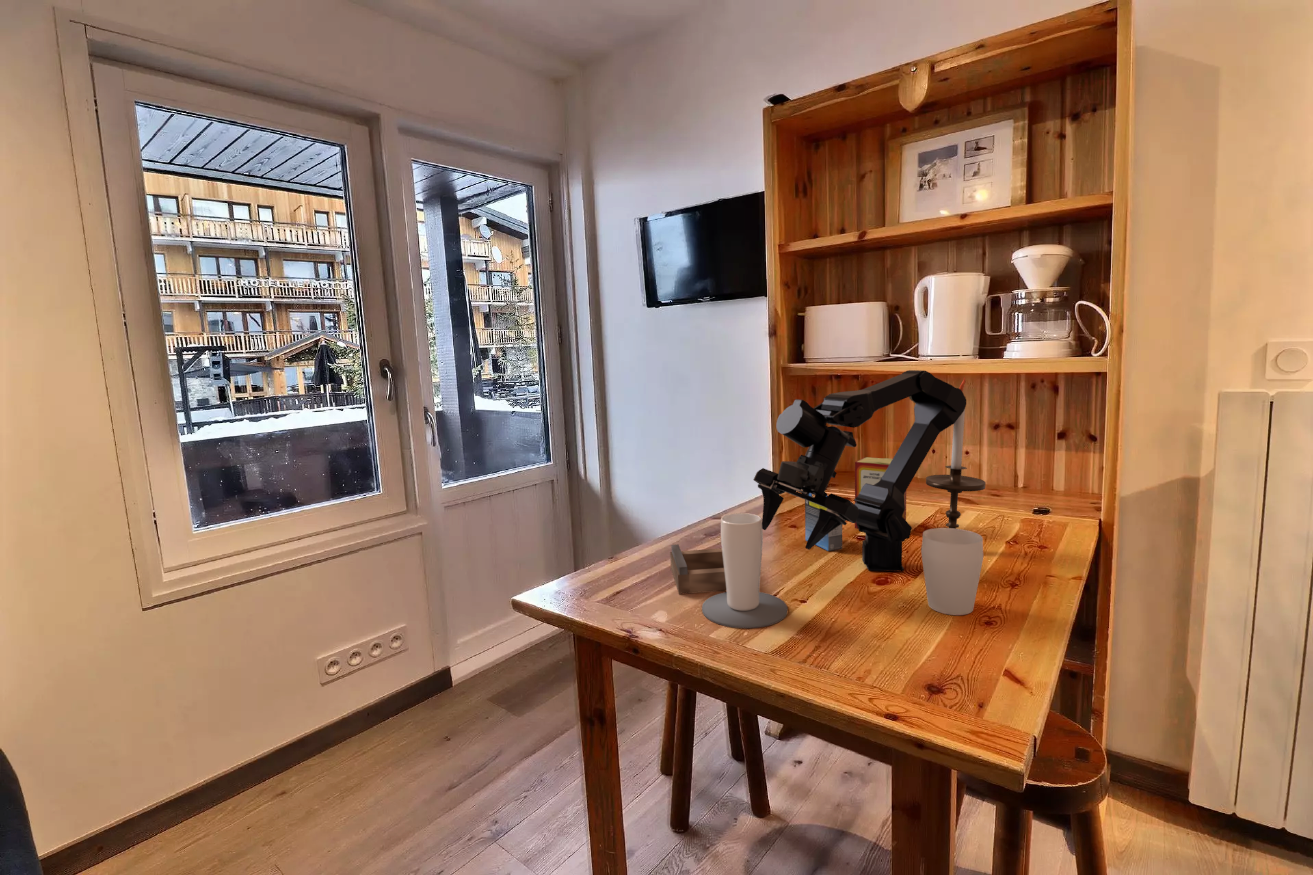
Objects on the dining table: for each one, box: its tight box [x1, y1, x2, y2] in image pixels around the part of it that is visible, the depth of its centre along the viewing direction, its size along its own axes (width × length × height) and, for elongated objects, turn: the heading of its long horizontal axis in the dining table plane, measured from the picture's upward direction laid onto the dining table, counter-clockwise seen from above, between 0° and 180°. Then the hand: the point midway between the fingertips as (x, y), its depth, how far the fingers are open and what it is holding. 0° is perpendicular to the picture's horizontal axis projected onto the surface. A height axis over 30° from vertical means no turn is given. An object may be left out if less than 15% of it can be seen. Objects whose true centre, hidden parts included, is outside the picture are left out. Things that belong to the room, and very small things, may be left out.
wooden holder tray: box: [669, 544, 726, 595], centre depth 121 cm, size 13×13×5 cm
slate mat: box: [701, 591, 789, 629], centre depth 107 cm, size 14×14×1 cm
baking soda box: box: [854, 456, 907, 530], centre depth 147 cm, size 10×6×16 cm
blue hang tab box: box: [804, 493, 843, 552], centre depth 137 cm, size 9×4×12 cm, turn 20°
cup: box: [920, 527, 984, 616], centre depth 103 cm, size 9×9×12 cm
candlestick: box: [925, 377, 986, 529], centre depth 129 cm, size 11×11×35 cm
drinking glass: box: [720, 512, 764, 611], centre depth 106 cm, size 7×7×15 cm
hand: (784, 538), depth 112 cm, fingers open, 9 cm apart
